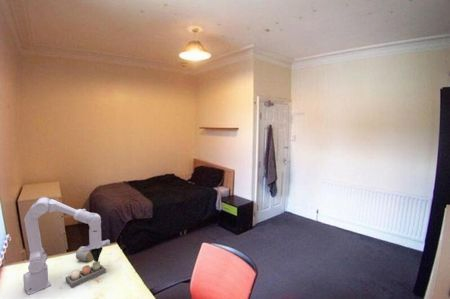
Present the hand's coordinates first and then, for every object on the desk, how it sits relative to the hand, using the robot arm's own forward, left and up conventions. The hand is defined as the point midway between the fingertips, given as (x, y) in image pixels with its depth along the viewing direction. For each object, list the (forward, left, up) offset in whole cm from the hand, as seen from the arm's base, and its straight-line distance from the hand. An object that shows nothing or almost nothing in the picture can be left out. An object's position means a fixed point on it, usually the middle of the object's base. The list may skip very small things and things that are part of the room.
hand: (96, 260), depth 134 cm
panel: (-5, 0, -7) cm, 9 cm away
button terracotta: (-5, 0, -5) cm, 7 cm away
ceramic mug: (+3, +19, -7) cm, 21 cm away
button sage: (0, 0, -5) cm, 5 cm away
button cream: (-10, 0, -5) cm, 12 cm away
